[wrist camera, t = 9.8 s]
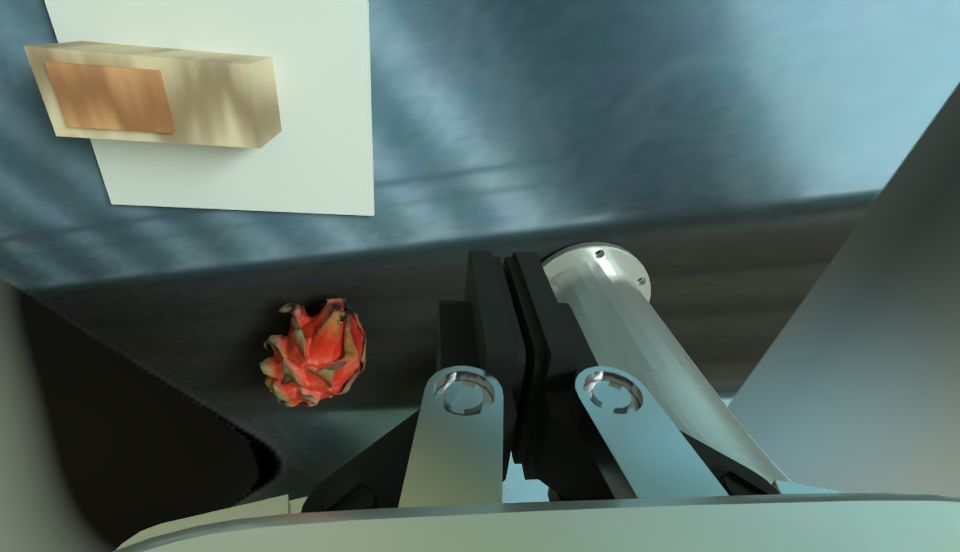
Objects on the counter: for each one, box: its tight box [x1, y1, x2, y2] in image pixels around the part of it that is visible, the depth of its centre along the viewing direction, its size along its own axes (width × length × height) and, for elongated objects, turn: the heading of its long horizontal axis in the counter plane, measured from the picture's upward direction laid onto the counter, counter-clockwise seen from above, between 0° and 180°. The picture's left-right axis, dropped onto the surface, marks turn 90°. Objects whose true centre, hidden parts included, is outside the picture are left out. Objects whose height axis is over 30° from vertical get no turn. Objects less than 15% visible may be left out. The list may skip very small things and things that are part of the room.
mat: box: [44, 0, 374, 216], centre depth 33 cm, size 18×20×1 cm
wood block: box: [24, 41, 282, 148], centre depth 30 cm, size 5×5×12 cm
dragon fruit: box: [260, 298, 367, 407], centre depth 41 cm, size 8×8×12 cm
